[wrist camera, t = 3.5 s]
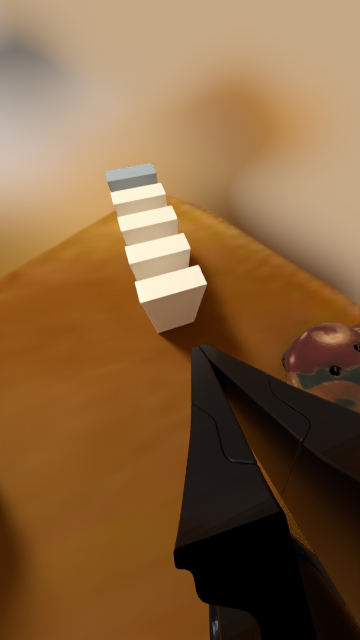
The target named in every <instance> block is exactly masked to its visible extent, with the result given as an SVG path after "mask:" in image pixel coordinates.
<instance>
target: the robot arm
mask: <svg viewBox="0 0 360 640" xmlns="http://www.w3.org/2000/svg"><path fill="white" fill-rule="evenodd" d="M191 404H192V405H191V430H190V441H189V451H188V459H187V467H186V475H185V484H184V492H183V500H182V507H181V514H180V520H179V526H178V532H177V538H176V543H175V548H174V562H175V567H176V568H177V569H185V570H188V571H190V572H191V573H192V574H193V577H194V581H195V587H196V592H197V595H198V597H199V598H200V599H201V600H202V601H203V602H204V603H207V604H209V625H210V640H360V627H359V626H360V413H358V412H356V411H353V410H351V409H348V408H346V407H343V406H341V405H339V404H336V403H334V402H331V401H329V400H326V399H324V398H321V397H319V396H316V395H314V394H311V393H309V392H306V391H304V390H302V389H299V388H297V387H295V386H292V385H290V384H288V383H286V382H284V381H282V380H279V379H277V378H275V377H273V376H271V375H269V374H268V375H267V373H265V372H263V371H261V370H259V369H257V368H255V367H253V366H250V365H248V364H246V363H244V362H242V361H240V360H238V359H236V358H234V357H232V356H230V355H228V354H226V353H224V352H222V351H220V350H218V349H216V348H214V347H212V346H210V345H208V344H203V345H200V346H199V347H198V346H197V347H194V348H192V349H191ZM248 443H249V444H248ZM249 445H250V446H249ZM250 447H251V448H252V450H253V452H254V453H255V455H256V457H257V458H258V460H259V462H260V463H261V465H262V466H263V468H264V470H265V471H266V473H267V475H268V476H269V478H270V480H271V481H272V483H273V485H274V486H275V488H276V489H277V491H278V493H279V494H280V496H281V498H282V500H283V501H284V503H285V504H286V506H287V508H288V509H289V511H290V513H291V514H292V516H293V518H294V519H295V521H296V523H297V524H298V526H299V527H300V529H301V531H302V532H303V534H304V536H305V537H306V539H307V541H308V542H309V544H310V546H311V547H312V549H313V550H314V552H315V554H316V555H317V557H318V558H317V557H316V556H315V555H314V554H312V553H311V552H310V551H309V550H308V549H307V548H306V547H305V546H304V545H302V544H301V543H300V542H299V541H298V540H297V539H296V538H295V537H293V536H292V535H291V534H290V530H289V526H288V522H287V518H286V515H285V513H284V511H283V510H282V508H281V506H280V505H279V503H278V502H277V500H276V498H275V497H274V495H273V493H272V491H271V489H270V487H269V485H268V484H267V482H266V480H265V478H264V476H263V474H262V472H261V470H260V468H259V466H258V465H257V461H256V459H255V457H254V455H253V453H252V450H251V448H250ZM345 603H346V605H347V606H348V608H349V610H350V611H351V613H352V614H353V616H354V618H355V619H356V621H357V623H358V624H359V626H358V624H357V623H356V622H355V620H354V619H353V617H352V616H351V614H350V613H349V612H348V610H347V609H346V607H345Z"/></svg>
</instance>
